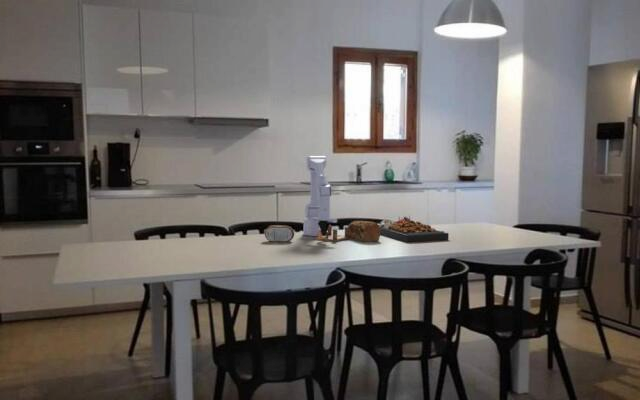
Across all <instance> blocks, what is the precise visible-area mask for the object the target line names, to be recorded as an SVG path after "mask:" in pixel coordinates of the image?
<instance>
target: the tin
mask: <svg viewBox="0 0 640 400" xmlns="http://www.w3.org/2000/svg"><path fill="white" fill-rule="evenodd" d="M264 237H265V239H266V240H267V241H269V242H271V243H272V242H273V243H289V242H290V241H292V240H293V239H294V237H295V230H294V228H292V227H291V226H289V225H279V224H278V225H277V224H276V225H275V224H274V225H273V224H272V225H269V226H268V227H266V229H265V230H264Z"/></svg>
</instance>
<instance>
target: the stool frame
mask: <svg viewBox="0 0 640 400" xmlns="http://www.w3.org/2000/svg"><path fill="white" fill-rule="evenodd" d="M326 236H327V238H325V239H318V236H313V240H314V241H323V242H324V241H325V242H332V243H338V242H343V241H346V240H347V241H348V240H350V239H351V236H349V227H348V226H345V227H344V235H340V234H338V228H337V229H336V228H334V229H332V225H331V224H330V225H329V227H328V229H327V233H326Z"/></svg>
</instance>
